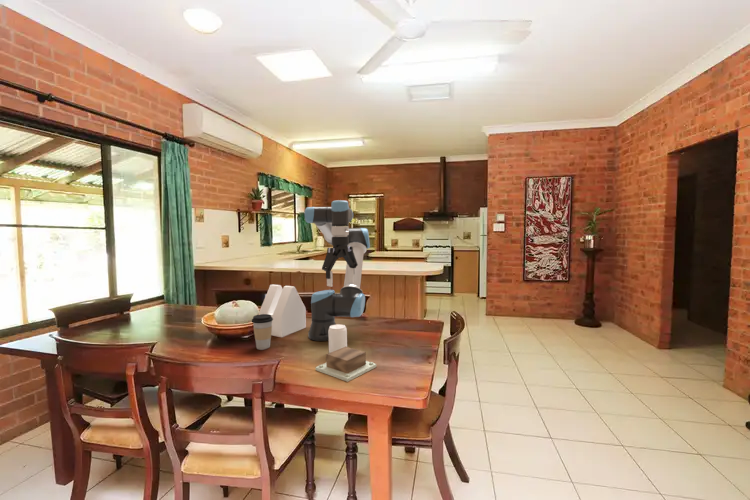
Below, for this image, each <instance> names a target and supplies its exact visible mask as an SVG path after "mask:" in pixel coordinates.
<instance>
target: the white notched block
mask: <svg viewBox="0 0 750 500" xmlns="http://www.w3.org/2000/svg"><path fill="white" fill-rule="evenodd" d="M306 310H307V308H306V306H305V304H304V303H303V301H302V298H301V296H300V295H299V292H298V290H297V288H296V286H292V285H285V286H283V287H282V285H281V284H270V285H269V287H268V289H267V293H266V295H265V297H264V299H263V302H262V304H261V306H260V309H259V312H258V315H259V314H269V315H271V317H272V318H273V320H272V331H271V337H272V336H274V337H278V338H284V337H287V336H289V335H291V334H293V333H294V334H295V333H296V332H298V331H302V330H303V329H305V328H307V316H306V315H307V313H306V312H307V311H306Z"/></svg>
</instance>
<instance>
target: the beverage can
mask: <svg viewBox="0 0 750 500" xmlns="http://www.w3.org/2000/svg"><path fill="white" fill-rule="evenodd" d="M347 330H348V328H347V326H346V325H345V324H339V323H337V324H336V325H331V326H330V327H329V330H328V336H329V340H328V353H331V352H333V351H336V350H338V349H341V348H343V347H348V331H347Z"/></svg>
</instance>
